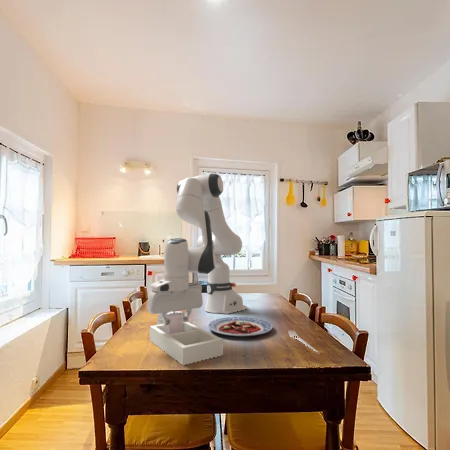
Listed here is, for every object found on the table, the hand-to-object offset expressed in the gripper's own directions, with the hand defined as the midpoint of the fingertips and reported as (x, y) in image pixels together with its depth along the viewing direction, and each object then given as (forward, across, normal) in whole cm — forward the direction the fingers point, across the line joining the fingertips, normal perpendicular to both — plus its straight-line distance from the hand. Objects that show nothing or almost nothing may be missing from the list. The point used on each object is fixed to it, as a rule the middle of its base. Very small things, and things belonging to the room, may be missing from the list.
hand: (175, 323), depth 111 cm
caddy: (+7, 0, +6) cm, 9 cm away
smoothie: (+6, 0, 0) cm, 7 cm away
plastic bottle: (+7, -3, -16) cm, 18 cm away
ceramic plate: (+7, -28, +1) cm, 29 cm away
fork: (+7, -37, +26) cm, 46 cm away
